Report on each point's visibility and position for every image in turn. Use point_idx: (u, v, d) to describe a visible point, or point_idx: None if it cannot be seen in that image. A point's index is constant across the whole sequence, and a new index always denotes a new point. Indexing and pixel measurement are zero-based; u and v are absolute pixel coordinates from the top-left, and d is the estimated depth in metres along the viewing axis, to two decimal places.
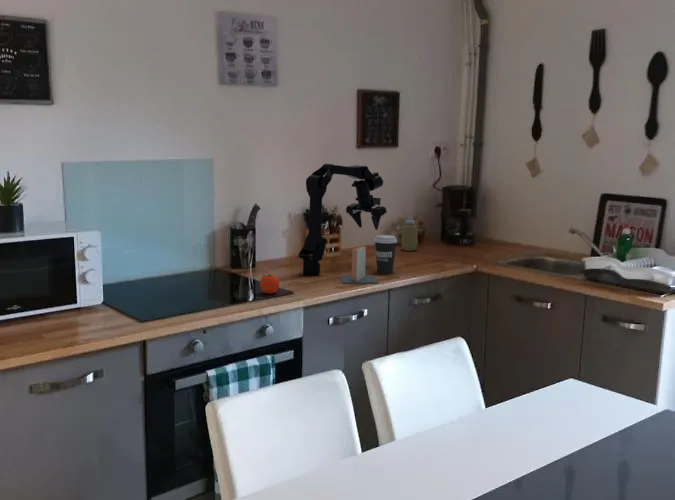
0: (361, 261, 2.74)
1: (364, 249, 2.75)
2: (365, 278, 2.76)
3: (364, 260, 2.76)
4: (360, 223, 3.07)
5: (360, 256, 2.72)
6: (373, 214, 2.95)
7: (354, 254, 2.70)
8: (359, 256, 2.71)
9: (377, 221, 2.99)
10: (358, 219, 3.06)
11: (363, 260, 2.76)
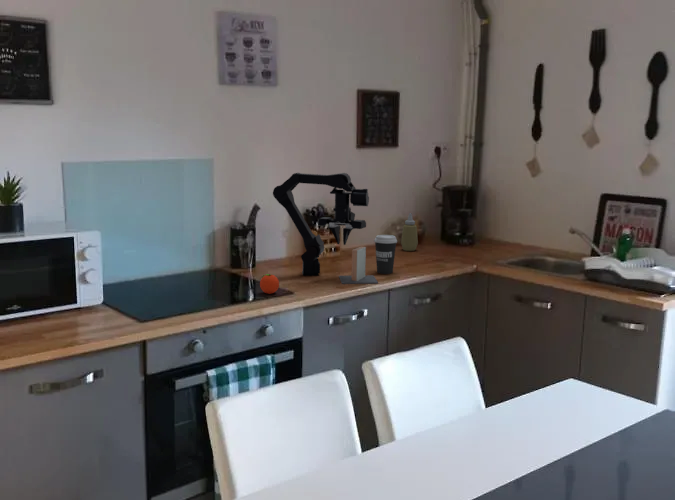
0: (361, 261, 2.74)
1: (364, 249, 2.75)
2: (365, 278, 2.76)
3: (364, 260, 2.76)
4: (339, 239, 2.79)
5: (360, 256, 2.72)
6: (354, 226, 2.72)
7: (354, 254, 2.70)
8: (359, 256, 2.71)
9: (347, 235, 2.77)
10: (337, 234, 2.78)
11: (363, 260, 2.76)
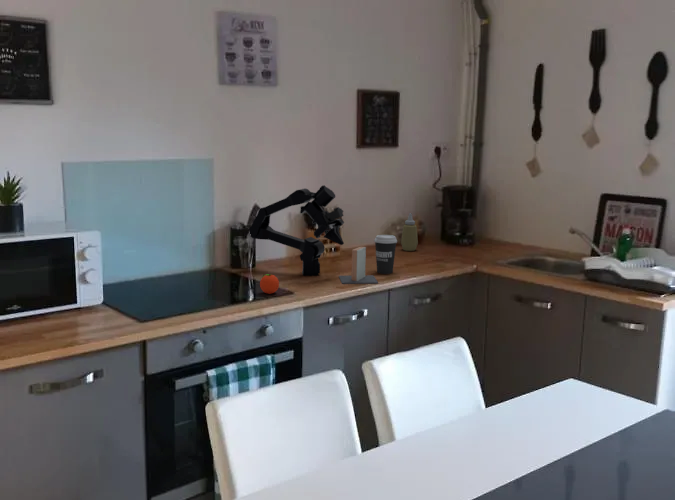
0: (361, 261, 2.74)
1: (364, 249, 2.75)
2: (365, 278, 2.76)
3: (364, 260, 2.76)
4: None
5: (360, 256, 2.72)
6: None
7: (354, 254, 2.70)
8: (359, 256, 2.71)
9: (335, 237, 2.75)
10: None
11: (363, 260, 2.76)
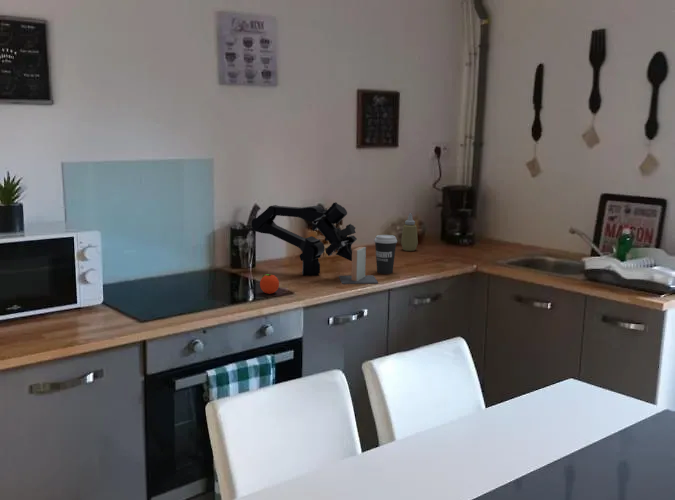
0: (361, 261, 2.74)
1: (364, 249, 2.75)
2: (365, 278, 2.76)
3: (364, 260, 2.76)
4: None
5: (360, 256, 2.72)
6: None
7: (354, 254, 2.70)
8: (359, 256, 2.71)
9: (347, 254, 2.74)
10: None
11: (363, 260, 2.76)
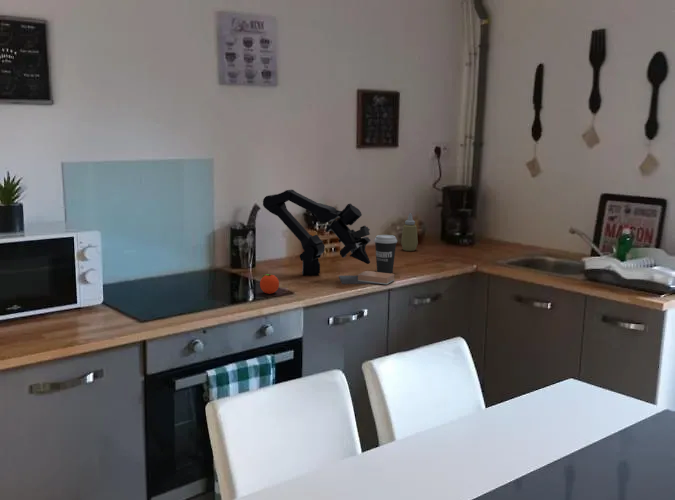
0: None
1: None
2: None
3: None
4: None
5: None
6: None
7: (383, 280, 2.67)
8: None
9: (361, 256, 2.72)
10: None
11: None
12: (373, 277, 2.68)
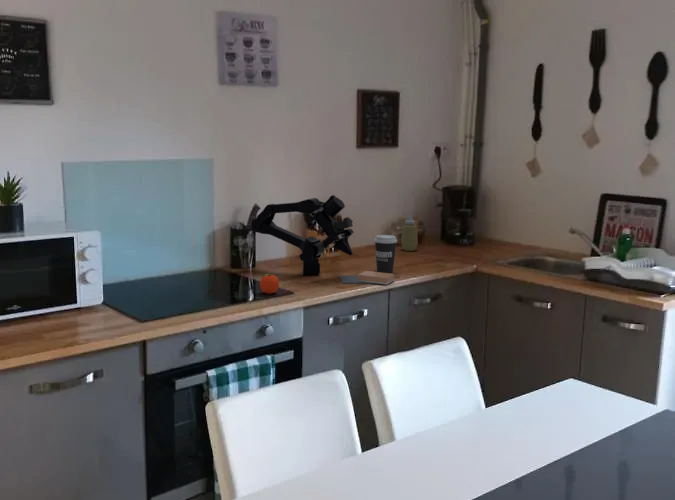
0: None
1: None
2: None
3: None
4: None
5: None
6: None
7: (383, 280, 2.67)
8: None
9: (343, 247, 2.74)
10: None
11: None
12: (373, 277, 2.68)
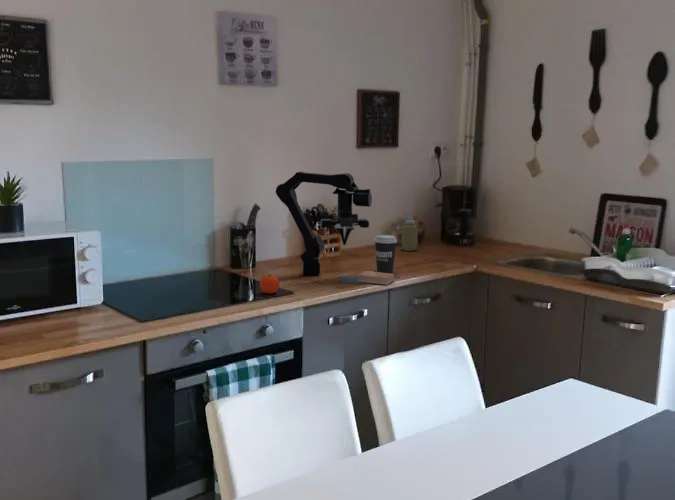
0: None
1: None
2: None
3: None
4: (344, 240, 2.77)
5: None
6: None
7: (383, 280, 2.67)
8: None
9: (340, 235, 2.77)
10: (345, 235, 2.78)
11: None
12: (373, 277, 2.68)
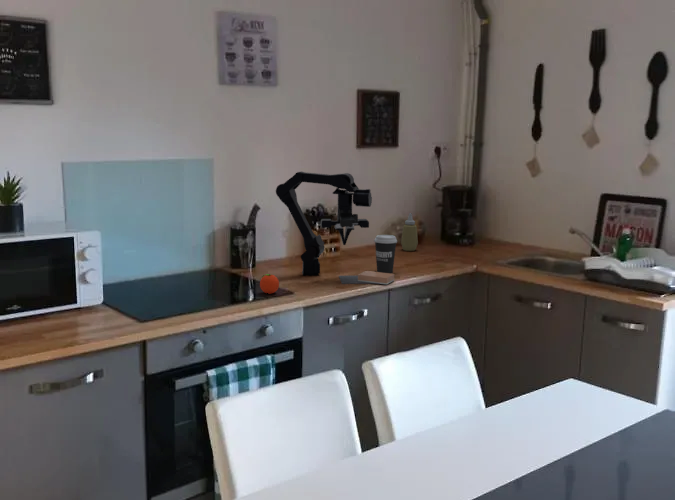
0: None
1: None
2: None
3: None
4: (344, 240, 2.77)
5: None
6: None
7: (383, 280, 2.67)
8: None
9: (340, 235, 2.77)
10: (345, 235, 2.78)
11: None
12: (373, 277, 2.68)
